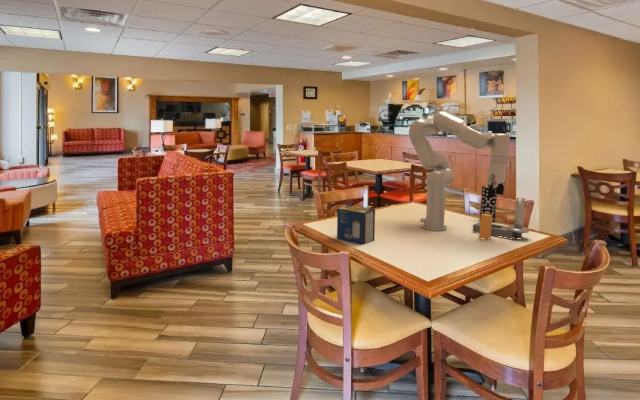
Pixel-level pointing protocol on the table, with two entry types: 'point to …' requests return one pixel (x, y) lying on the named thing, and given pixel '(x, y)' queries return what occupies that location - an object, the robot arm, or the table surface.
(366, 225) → the protein box
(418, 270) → the table surface
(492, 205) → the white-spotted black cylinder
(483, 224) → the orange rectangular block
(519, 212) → the rosette post
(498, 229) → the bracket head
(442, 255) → the table surface
